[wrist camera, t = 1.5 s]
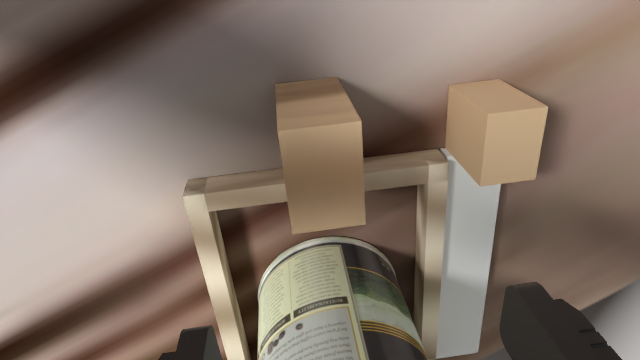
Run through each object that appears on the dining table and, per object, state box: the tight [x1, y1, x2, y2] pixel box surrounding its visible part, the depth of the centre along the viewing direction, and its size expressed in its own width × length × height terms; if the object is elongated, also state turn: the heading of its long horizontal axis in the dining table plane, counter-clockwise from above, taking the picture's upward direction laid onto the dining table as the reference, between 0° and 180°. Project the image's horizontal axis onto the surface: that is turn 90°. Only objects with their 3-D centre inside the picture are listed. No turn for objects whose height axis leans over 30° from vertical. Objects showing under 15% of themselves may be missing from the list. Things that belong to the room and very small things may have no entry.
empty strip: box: [436, 79, 548, 359], centre depth 28 cm, size 22×4×5 cm, turn 5°
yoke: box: [182, 77, 449, 360], centre depth 26 cm, size 23×15×7 cm, turn 5°
